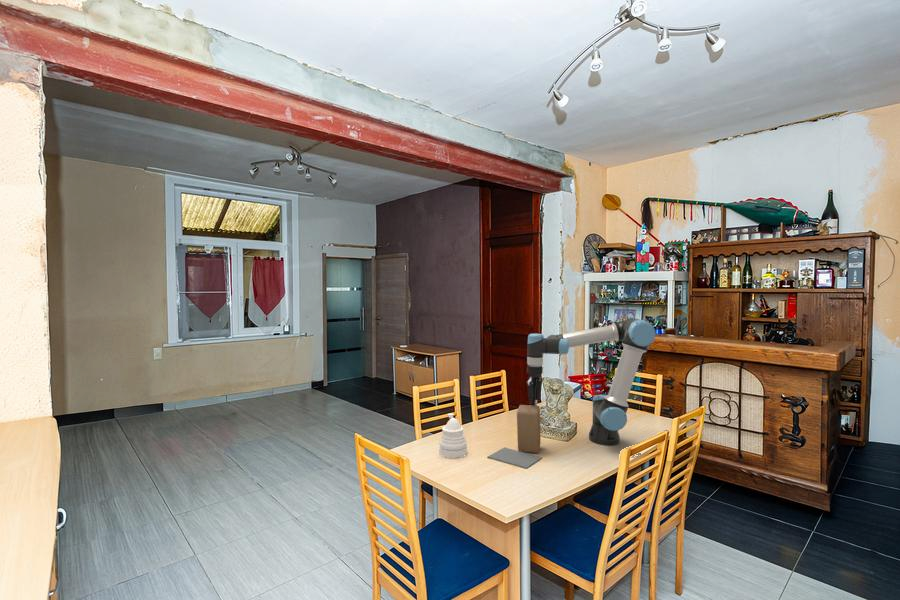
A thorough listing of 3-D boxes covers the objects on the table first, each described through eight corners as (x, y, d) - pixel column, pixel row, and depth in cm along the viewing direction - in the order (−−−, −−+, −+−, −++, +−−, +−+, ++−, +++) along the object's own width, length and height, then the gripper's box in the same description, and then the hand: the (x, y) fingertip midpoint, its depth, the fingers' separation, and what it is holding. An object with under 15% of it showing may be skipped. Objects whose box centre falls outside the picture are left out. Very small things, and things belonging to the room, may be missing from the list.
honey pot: (434, 452, 210) (434, 414, 210) (454, 446, 219) (454, 409, 218) (451, 460, 200) (451, 420, 200) (472, 453, 209) (472, 415, 208)
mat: (542, 458, 203) (542, 457, 203) (526, 468, 191) (526, 467, 191) (504, 448, 215) (504, 447, 215) (487, 457, 204) (487, 456, 204)
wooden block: (540, 444, 218) (539, 405, 215) (539, 453, 208) (538, 412, 206) (520, 442, 220) (519, 404, 218) (517, 452, 211) (516, 411, 208)
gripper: (534, 362, 225) (533, 408, 226) (521, 366, 215) (520, 414, 216) (547, 364, 220) (546, 411, 221) (535, 368, 210) (534, 417, 211)
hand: (533, 413), depth 218 cm, fingers closed
